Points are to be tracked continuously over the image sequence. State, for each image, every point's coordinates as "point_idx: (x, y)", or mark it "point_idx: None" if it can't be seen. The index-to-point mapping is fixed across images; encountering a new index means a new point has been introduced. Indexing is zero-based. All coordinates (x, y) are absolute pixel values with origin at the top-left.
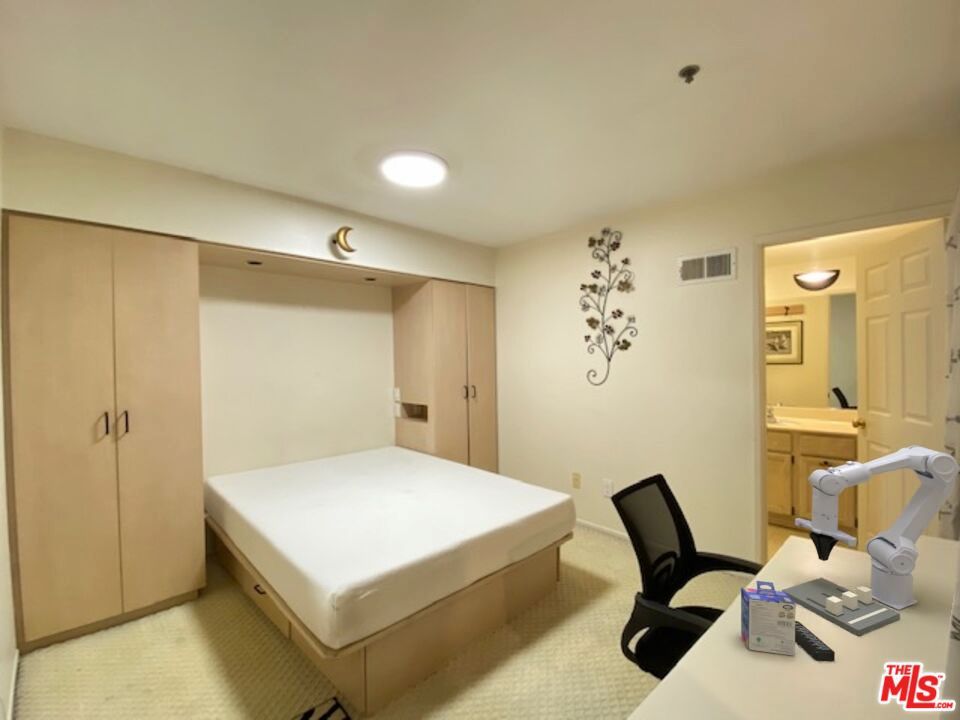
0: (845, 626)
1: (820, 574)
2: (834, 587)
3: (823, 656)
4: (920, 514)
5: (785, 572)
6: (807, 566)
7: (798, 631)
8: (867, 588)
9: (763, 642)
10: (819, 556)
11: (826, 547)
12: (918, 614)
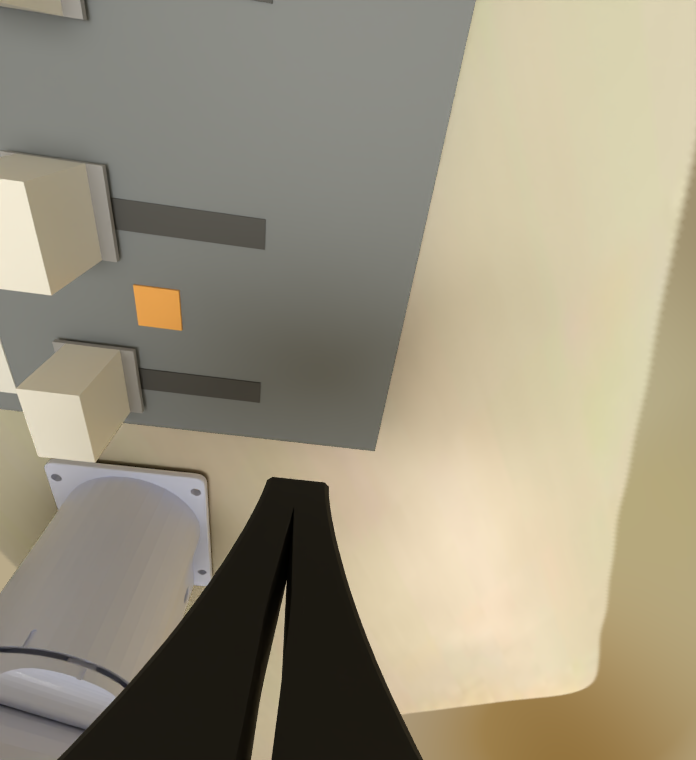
0: None
1: (412, 500)
2: (274, 394)
3: None
4: None
5: (562, 371)
6: (486, 525)
7: None
8: (59, 452)
9: None
10: (309, 505)
11: (131, 681)
12: (11, 490)
